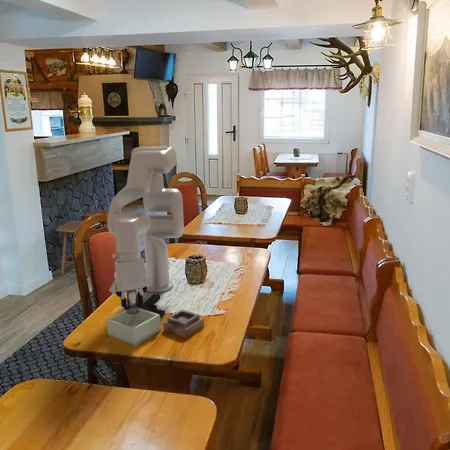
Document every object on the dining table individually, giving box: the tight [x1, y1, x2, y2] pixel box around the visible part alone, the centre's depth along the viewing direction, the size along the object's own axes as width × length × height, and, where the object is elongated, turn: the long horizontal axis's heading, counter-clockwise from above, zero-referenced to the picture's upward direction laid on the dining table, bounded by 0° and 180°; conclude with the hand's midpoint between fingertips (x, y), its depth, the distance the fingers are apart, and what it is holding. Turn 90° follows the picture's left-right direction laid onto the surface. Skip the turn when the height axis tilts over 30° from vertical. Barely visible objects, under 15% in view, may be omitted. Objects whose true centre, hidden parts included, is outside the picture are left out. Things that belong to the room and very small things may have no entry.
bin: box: [106, 308, 162, 347], centre depth 160 cm, size 13×13×6 cm
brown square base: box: [162, 309, 205, 338], centre depth 163 cm, size 10×10×4 cm
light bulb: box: [125, 289, 139, 314], centre depth 157 cm, size 4×4×8 cm
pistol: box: [139, 293, 166, 320], centre depth 179 cm, size 3×20×11 cm
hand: (132, 306), depth 157 cm, fingers closed on light bulb, 4 cm apart
